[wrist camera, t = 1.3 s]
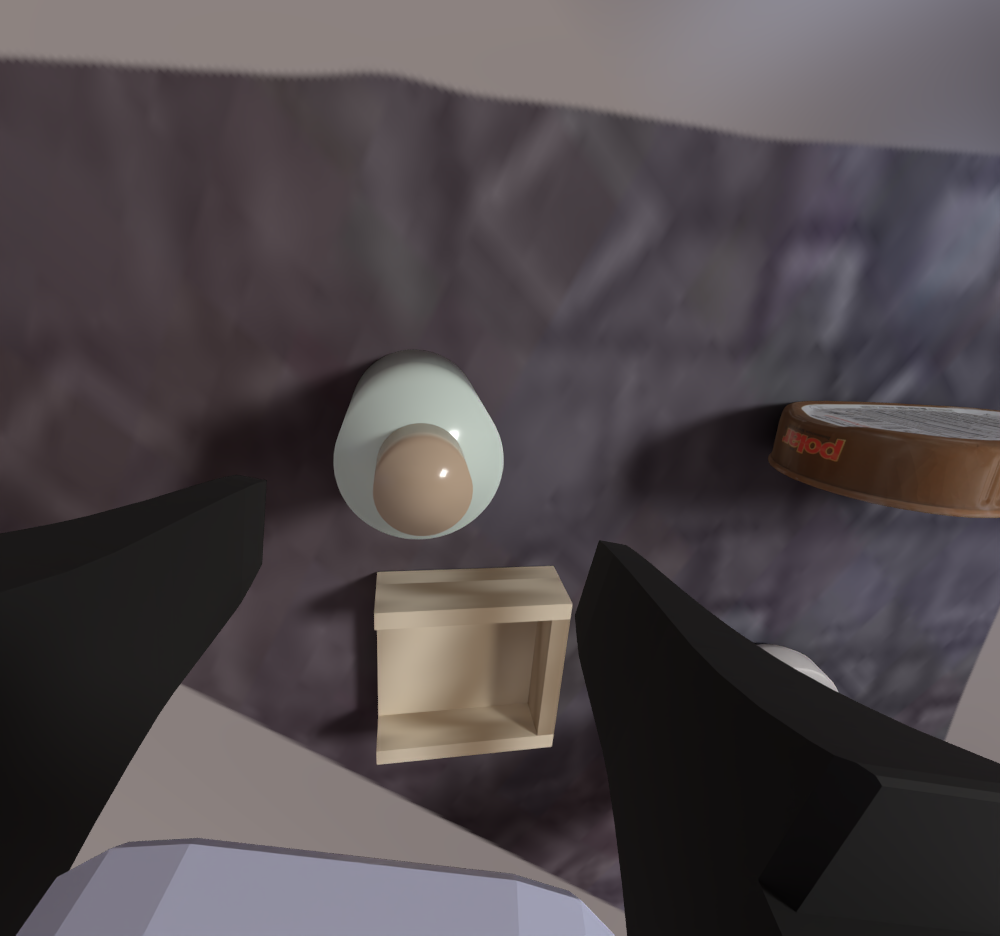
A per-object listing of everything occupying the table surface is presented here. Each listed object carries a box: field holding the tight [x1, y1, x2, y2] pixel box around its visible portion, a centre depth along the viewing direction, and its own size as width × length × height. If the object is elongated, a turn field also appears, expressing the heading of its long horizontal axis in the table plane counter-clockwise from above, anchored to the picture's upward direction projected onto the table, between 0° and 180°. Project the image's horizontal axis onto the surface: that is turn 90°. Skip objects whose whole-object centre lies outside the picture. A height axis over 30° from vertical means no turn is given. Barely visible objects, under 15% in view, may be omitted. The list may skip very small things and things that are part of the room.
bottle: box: [333, 350, 503, 539], centre depth 17 cm, size 5×5×8 cm
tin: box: [768, 401, 1000, 518], centre depth 21 cm, size 15×3×8 cm, turn 86°
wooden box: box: [374, 566, 572, 765], centre depth 24 cm, size 8×8×3 cm
